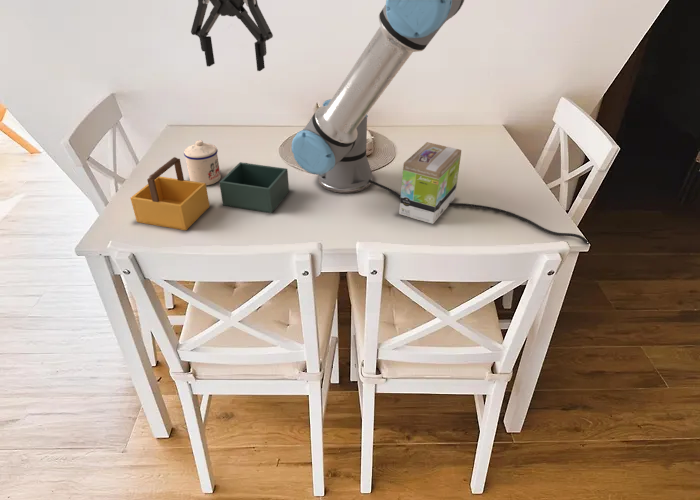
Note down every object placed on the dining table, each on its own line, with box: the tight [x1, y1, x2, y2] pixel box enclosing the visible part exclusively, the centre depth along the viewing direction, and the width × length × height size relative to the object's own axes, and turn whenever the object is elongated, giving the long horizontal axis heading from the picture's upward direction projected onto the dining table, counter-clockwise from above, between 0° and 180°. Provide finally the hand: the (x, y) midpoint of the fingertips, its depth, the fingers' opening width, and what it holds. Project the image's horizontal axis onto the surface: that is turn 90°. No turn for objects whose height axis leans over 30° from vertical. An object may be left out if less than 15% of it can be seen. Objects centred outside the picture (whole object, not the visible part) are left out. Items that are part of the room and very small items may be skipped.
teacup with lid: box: [183, 139, 222, 186], centre depth 152 cm, size 12×9×12 cm
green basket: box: [218, 161, 290, 214], centre depth 143 cm, size 14×12×7 cm
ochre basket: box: [130, 156, 211, 231], centre depth 135 cm, size 14×12×14 cm
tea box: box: [398, 141, 462, 225], centre depth 137 cm, size 15×10×15 cm
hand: (235, 67), depth 133 cm, fingers open, 13 cm apart
